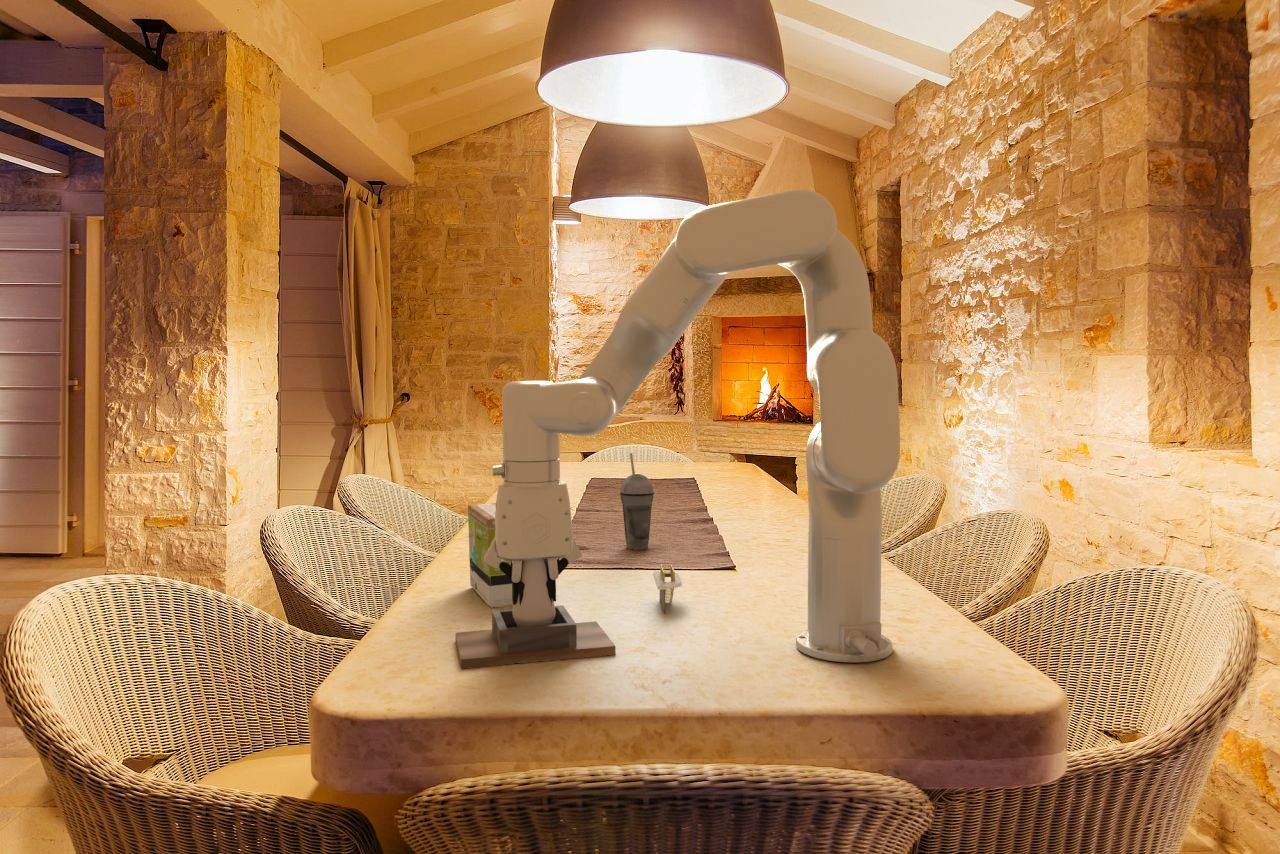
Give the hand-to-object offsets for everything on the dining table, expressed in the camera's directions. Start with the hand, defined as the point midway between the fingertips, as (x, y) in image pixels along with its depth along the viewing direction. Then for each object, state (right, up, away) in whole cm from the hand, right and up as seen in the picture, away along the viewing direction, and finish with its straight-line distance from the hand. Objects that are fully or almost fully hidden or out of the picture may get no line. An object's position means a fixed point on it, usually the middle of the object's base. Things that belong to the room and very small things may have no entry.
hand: (534, 606), depth 121 cm
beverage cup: (+14, -1, +68) cm, 70 cm away
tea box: (-8, -4, +29) cm, 31 cm away
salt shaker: (0, -3, 0) cm, 3 cm away
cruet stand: (0, -6, 0) cm, 6 cm away
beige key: (+19, -5, +21) cm, 29 cm away
